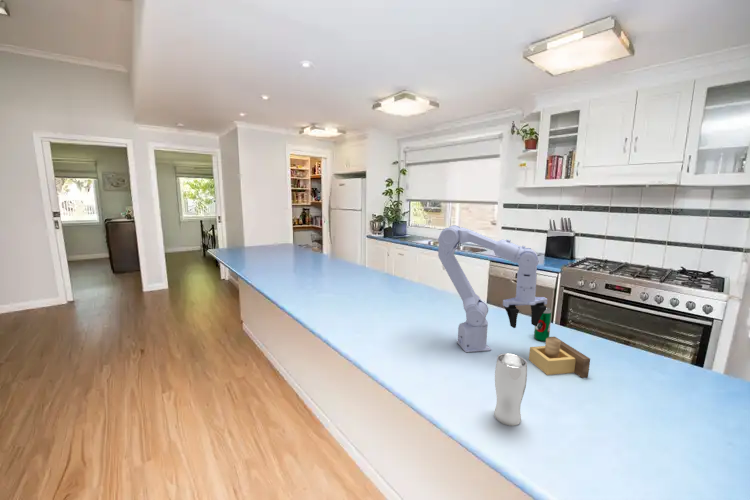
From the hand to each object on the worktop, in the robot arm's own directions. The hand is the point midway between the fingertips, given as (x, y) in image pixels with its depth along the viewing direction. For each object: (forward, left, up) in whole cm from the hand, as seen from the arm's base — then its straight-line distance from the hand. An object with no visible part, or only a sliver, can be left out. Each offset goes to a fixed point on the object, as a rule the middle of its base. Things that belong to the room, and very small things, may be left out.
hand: (523, 325), depth 107 cm
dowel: (+5, -8, -10) cm, 14 cm away
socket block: (+5, -8, -10) cm, 14 cm away
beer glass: (-21, -28, -11) cm, 37 cm away
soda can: (+15, +10, -11) cm, 21 cm away
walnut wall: (+11, -8, -10) cm, 17 cm away
